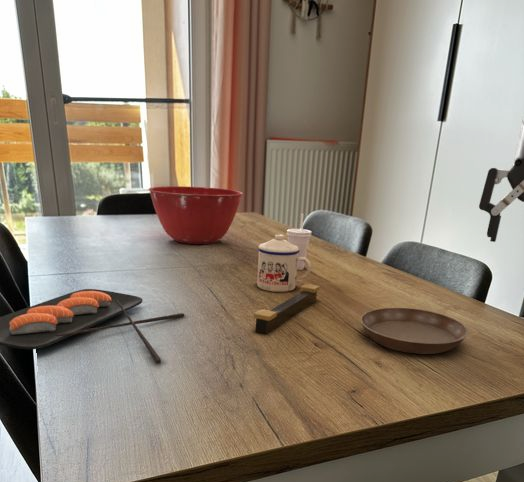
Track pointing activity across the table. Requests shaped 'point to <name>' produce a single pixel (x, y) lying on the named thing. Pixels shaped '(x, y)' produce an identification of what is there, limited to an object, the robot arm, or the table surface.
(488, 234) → the robot arm
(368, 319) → the plant saucer
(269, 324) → the rail
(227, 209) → the mixing bowl
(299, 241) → the smoothie
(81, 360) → the table surface
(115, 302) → the sushi plate
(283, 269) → the teacup with lid
